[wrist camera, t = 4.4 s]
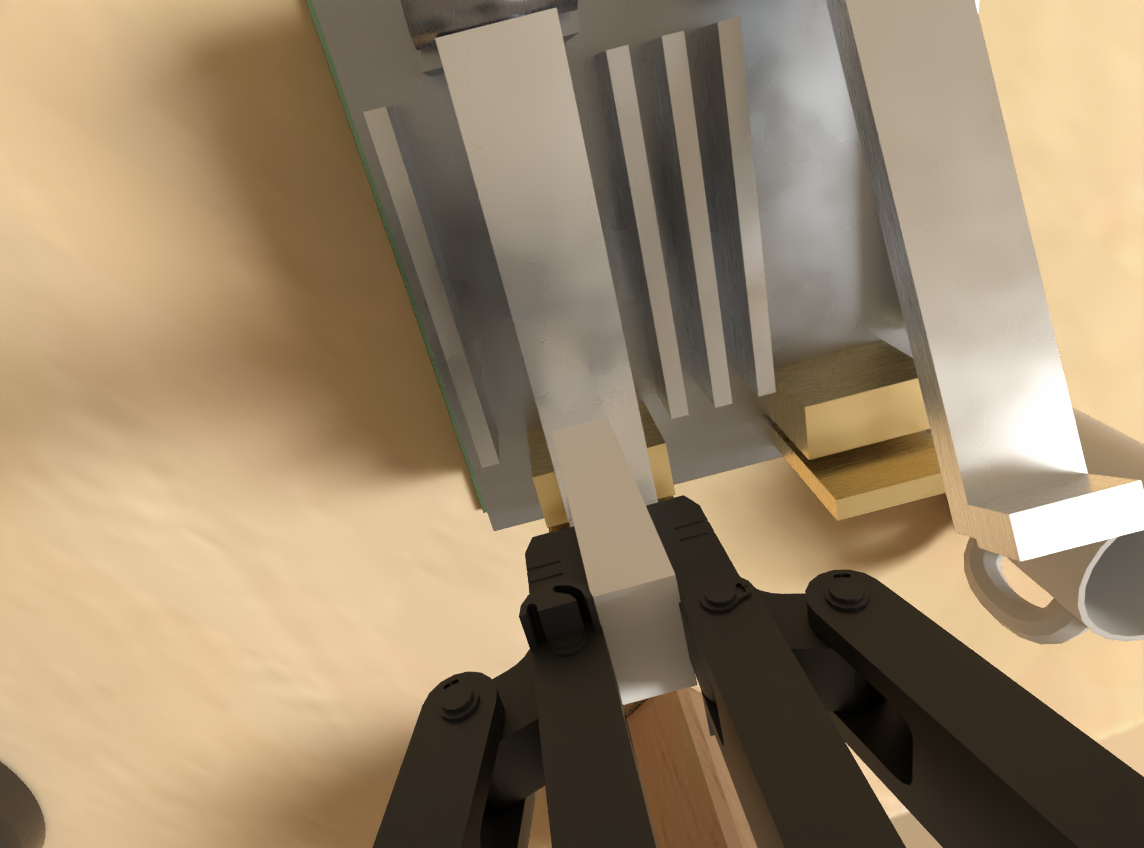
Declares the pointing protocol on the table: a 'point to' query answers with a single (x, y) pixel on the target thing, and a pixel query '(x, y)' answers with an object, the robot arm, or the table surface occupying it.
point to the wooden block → (686, 775)
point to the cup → (1075, 564)
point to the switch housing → (664, 249)
